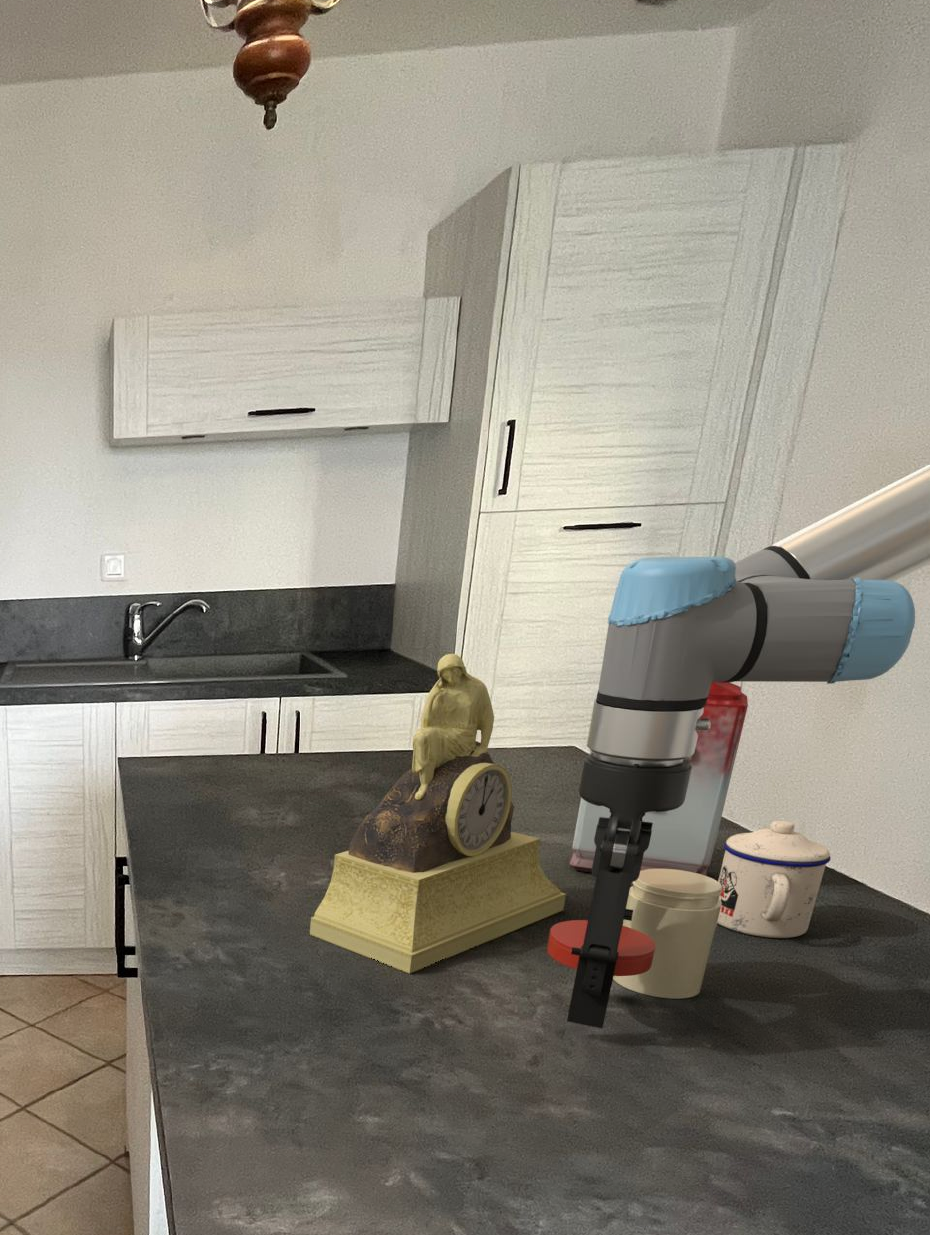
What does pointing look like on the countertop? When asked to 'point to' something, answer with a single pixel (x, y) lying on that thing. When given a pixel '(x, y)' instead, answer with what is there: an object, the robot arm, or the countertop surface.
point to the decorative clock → (438, 847)
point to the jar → (673, 930)
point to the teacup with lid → (770, 881)
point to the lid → (631, 949)
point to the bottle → (695, 823)
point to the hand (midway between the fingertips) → (589, 1002)
